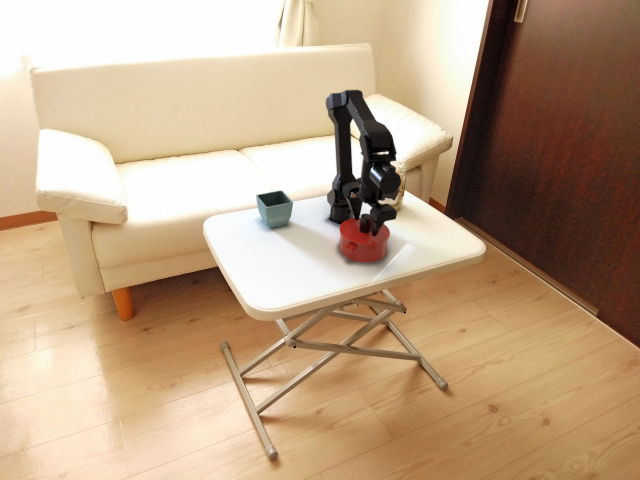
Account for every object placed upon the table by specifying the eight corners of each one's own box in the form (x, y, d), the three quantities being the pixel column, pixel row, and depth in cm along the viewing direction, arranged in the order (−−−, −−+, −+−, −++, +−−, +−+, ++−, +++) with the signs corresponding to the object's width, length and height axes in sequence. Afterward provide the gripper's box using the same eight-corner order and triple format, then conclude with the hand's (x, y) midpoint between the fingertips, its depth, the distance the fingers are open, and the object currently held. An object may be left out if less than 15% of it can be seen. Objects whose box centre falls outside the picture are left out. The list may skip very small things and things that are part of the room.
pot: (325, 257, 127) (327, 238, 124) (358, 229, 140) (360, 211, 137) (367, 274, 121) (370, 254, 118) (396, 244, 135) (400, 225, 131)
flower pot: (266, 233, 136) (266, 207, 131) (255, 220, 142) (255, 194, 137) (293, 228, 139) (293, 202, 134) (281, 214, 146) (282, 189, 141)
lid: (329, 235, 126) (331, 218, 123) (354, 215, 136) (356, 199, 133) (375, 253, 120) (377, 235, 117) (397, 231, 130) (400, 214, 127)
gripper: (418, 186, 115) (408, 238, 123) (378, 159, 128) (371, 207, 137) (381, 193, 110) (374, 247, 119) (344, 164, 124) (339, 214, 132)
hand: (365, 227), depth 127 cm, fingers open, 9 cm apart
